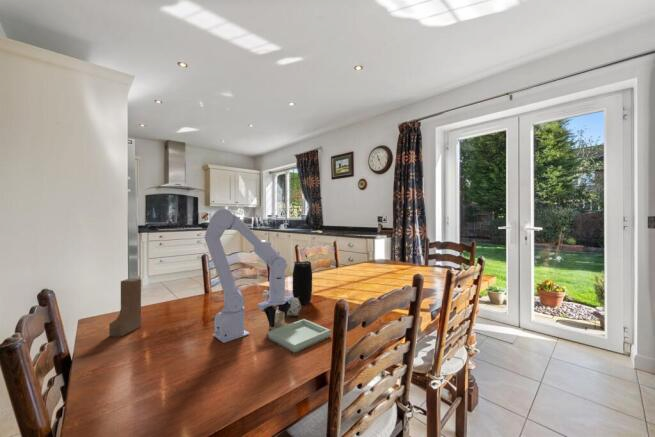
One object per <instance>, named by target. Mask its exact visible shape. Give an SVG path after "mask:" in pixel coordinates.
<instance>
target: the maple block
mask: <svg viewBox="0 0 655 437" xmlns="http://www.w3.org/2000/svg"><path fill="white" fill-rule="evenodd" d="M284 316H285V312H282V311H280V310H279V309H276V313H275V319H274V327H271V326H269V325H268V329H269V328H270V331H271V330H274V329H276V328H279V327H282V326H285V322H284Z"/></svg>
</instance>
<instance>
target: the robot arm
mask: <svg viewBox="0 0 655 437" xmlns="http://www.w3.org/2000/svg"><path fill="white" fill-rule="evenodd" d="M228 228H229V229H230V230H233V231H237V232H238V233H240V234H241V235H242V236H243V237H244V239H246V240H247V241H248V243H250V244H251V245H253V252H254V253H255V255H257V257H258V258H260V259H261V260H262V262H264V264H267V266H268V268H270V269H269V276H268V277H269V278H268V279H269V281H268V282H269V283H268V286H269V287H268V289H269V290H268V291H269V297H268V299H267V300H264V301H263V302H259V303H258V306H257V307H258V308H257V309H258V310H260V311H263V312H264V313H265V315H266V318H267V321H268V327H269V326H271V327H274V319H275V313H276V310H277V309H278V310H280V311H282V312H285V316H284V323H285V321H286V318H287V316H288V315H287V312H288V310H289V308H290V304H289V303H288V302H293V301H294V296H293V295H286V273H285V272H286V269H287V268H288V264H287V261H286V259H285V258H284V257H283V256H281V255H280V254H281V253H280V252H279V251H277V250H276V249H275V248H274V247H273V246H272V242H270V241H267V240H266V239H263V240H261V239H260V238H259V237H258V236H257V235H256V234H255V233H254V232H253V231H252V230H251V228H250V227H249V226H248V225H247V224H246V223H245V222H244V221H243V220H242V219H240V218H239V217H238V216H236V215H235V214H234V213H232V212H231V211H230V210H229V209H227V208H220V209H217V210H216V211H215V212H214V214H213V215H212V216H211V217H210V220H209V223H208V226H207V228H206V230H205V234H204V240H205V241H204V242H205V243H206V246H207V248H208V251H209V254H210V257H211V260H212V263H213V266H214V269H215V271H216V273H217V276H218V280H219V283H220V286H221V288H222V293H223V299H224V306H223V307H222V310H221V311H220V312H217V313H216V314H215V316H214V327H213V328H214V329H213V330H214V331H213V332H214V333H213V337H215V338H217V340H219V341H220V342H221V343H223V344H224V343H227V342H231V341H234V340H236V339H240V338H242V337H245V336H248V335H250V332H249V331H247V330H245V298H244V296H243V292H242V290H241V289H240V288H239V287H238V286H237V284H236V281H235V278H234V275H233V273H232V269H231V267H230V264H229V261H228V258H227V255H226V252H225V250H224V246H223V244H222V241H221V238H222V236H223V235H224V233H225V231H226V230H227V229H228ZM275 306H277V307H278V308H277V309H275ZM286 315H287V316H286Z"/></svg>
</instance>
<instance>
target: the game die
mask: <svg viewBox="0 0 655 437" xmlns="http://www.w3.org/2000/svg"><path fill="white" fill-rule="evenodd" d="M298 298H299V296H298ZM298 298H294V301H293V302H288V303H289V304H290V308H289V310H288V312H287V315H286V317H287V316H293V317H294V316H295V317H296V318H298V317H299V316H298V314H299V313H300V310H302V308H304V306H302V303H300V301H299V299H298Z"/></svg>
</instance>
